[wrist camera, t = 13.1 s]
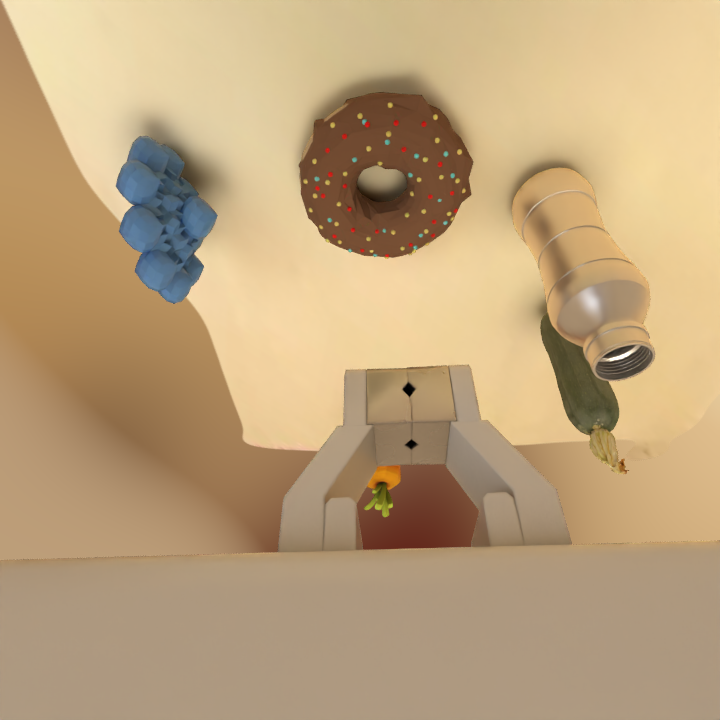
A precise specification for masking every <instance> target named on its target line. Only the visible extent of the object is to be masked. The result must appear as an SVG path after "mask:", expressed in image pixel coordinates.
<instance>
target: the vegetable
mask: <svg viewBox="0 0 720 720" xmlns="http://www.w3.org/2000/svg"><path fill="white" fill-rule="evenodd" d="M540 329H541V335H542V341H543V343H544V346H545V348H546V351H547V353H548V355H549V357H550V360H551V363H552V366H553V369H554V372H555V375H556V379H557V384H558V388H559V391H560V394H561V397H562V401H563V405H564V408H565V411H566V414H567V416H568V418H569V420H570V421H571V422H572V424H573V425H574V426H575V427H576V428H577V429H578V430H579V431H580V432H582V433H584V434H587V435H590V438H591V439H590V449H591V450H592V452H593V454H594V455H595V456H596V457H597V458H598V459H600V460H601V461H602V463H605V464H607V465H608V466H609V467H610V468H611V469H612V471H613V472H615V473H620V474H626V473H627V471H629V470H625V465H624V460H625V459H622V460H621V461H620V463H619V462H618V452H617V449H616V443H615V438H614V436H613V434H612V433H610V432H611V431H612V430H613V429H614V427H615V425H616V423H617V421H618V418H619V407H618V402H617V399H616V396H615V394H614V392H613V390H612V388H611V386H610V384H609V382H608V381H605V380H601V379H599V378H597V377H596V376H595V375H594V373H593V372H592V369H591V366H590V363H589V362H588V361H587V360H586V357H585V355H584V352H583V347H581V346H578V345H576V344H574V343H572V342H570V341H568V340H567V339H565V338H564V337H562V336H561V335H560V334H559V333H558V332H557V330H556V329H555V328H554V327H553V326H552V324H551V321H550V318H549V314H548V312H547V313H546V315H545V316H544V317H543V318H542V320H541V327H540Z"/></svg>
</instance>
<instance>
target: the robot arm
mask: <svg viewBox="0 0 720 720" xmlns="http://www.w3.org/2000/svg"><path fill="white" fill-rule="evenodd" d="M410 464H446V467H447V468H448V470H449V471H450V472H451V474H452V475H453V476H454V478H455V479H456V480H457V482H458V483H459V484H460V486H461V487H462V488H463V490H464V491H465V492H466V494H467V495H468V496H469V498H470V499H471V500H472V501H473V503H474V504H475V506H476V507H477V508H478V509H479V515H478V519H477V523H476V527H475V531H474V535H473V539H472V543H471V544H472V547H463V548H461V547H459V548H425V549H423V548H422V549H387V550H363V546H362V540H361V533H360V526H359V519H358V512H357V506H356V504H357V503H358V501H359V499H360V497H361V495H362V494H363V492H364V490H365V489H366V487H367V485H368V483H369V482H370V480H371V478H372V477H373V475H374V473H375V471H376V470H377V467H378V466H394V465H410ZM0 720H720V540H717V541H683V542H682V541H681V542H645V543H611V544H610V543H609V544H572V542H571V539H570V535H569V531H568V528H567V524H566V521H565V517H564V513H563V510H562V507H561V503H560V499H559V496H558V492H557V489H556V488H555V487H554V486H553V485H552V484H551V483H550V482H549V481H548V480H547V479H546V478H545V477H544V476H543V475H542V474H541V473H540V472H539V471H538V470H537V469H536V468H535V467H534V466H533V465H532V464H530V462H529V461H528V460H527V459H526V458H525V457H524V456H522V455H521V453H520V452H519V451H518V450H516V449H515V447H514V446H513V445H512V444H511V443H510V442H509V441H508V440H507V439H506V438H505V437H504V436H503V435H502V434H501V433H500V432H499V431H498V430H497V429H496V428H495V427H494V426H493V425H492V424H491V423H490V422H489V421H488V420H481V417H480V412H479V407H478V402H477V397H476V391H475V386H474V381H473V376H472V371H471V368H470V366H469V365H453V366H448V367H447V365H445V366H427V367H410V368H399V369H367V370H366V369H358V370H346V371H345V380H344V422H343V426H337V427H336V429H335V430H334V431H333V433H332V434H331V435H330V437H329V438H328V439H327V441H326V442H325V443H324V445H323V446H322V447H321V449H320V450H319V451H318V453H317V454H316V455H315V457H314V458H313V459H312V461H311V462H310V463H309V465H308V466H307V467H306V469H305V470H304V471H303V473H302V474H301V475H300V477H299V478H298V479H297V481H296V482H295V483H294V485H293V486H292V487H291V488H290V490H289V491H288V493H287V494H286V495H285V496H284V500H283V508H282V517H281V527H280V536H279V544H278V552H276V553H241V554H240V553H239V554H207V555H206V554H203V555H167V556H134V557H133V556H132V557H95V558H61V559H60V558H58V559H23V560H22V559H21V560H0Z"/></svg>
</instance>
